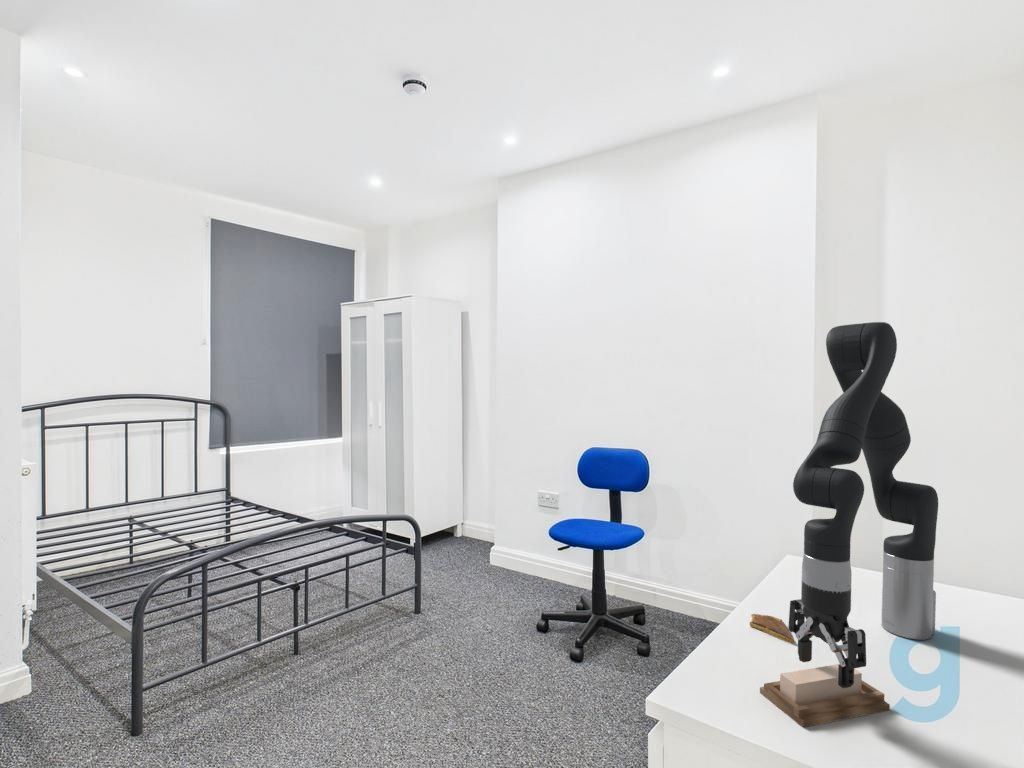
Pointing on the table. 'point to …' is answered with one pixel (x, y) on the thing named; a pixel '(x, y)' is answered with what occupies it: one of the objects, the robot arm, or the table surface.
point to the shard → (771, 626)
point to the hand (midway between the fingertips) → (824, 673)
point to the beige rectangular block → (817, 685)
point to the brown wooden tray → (827, 705)
